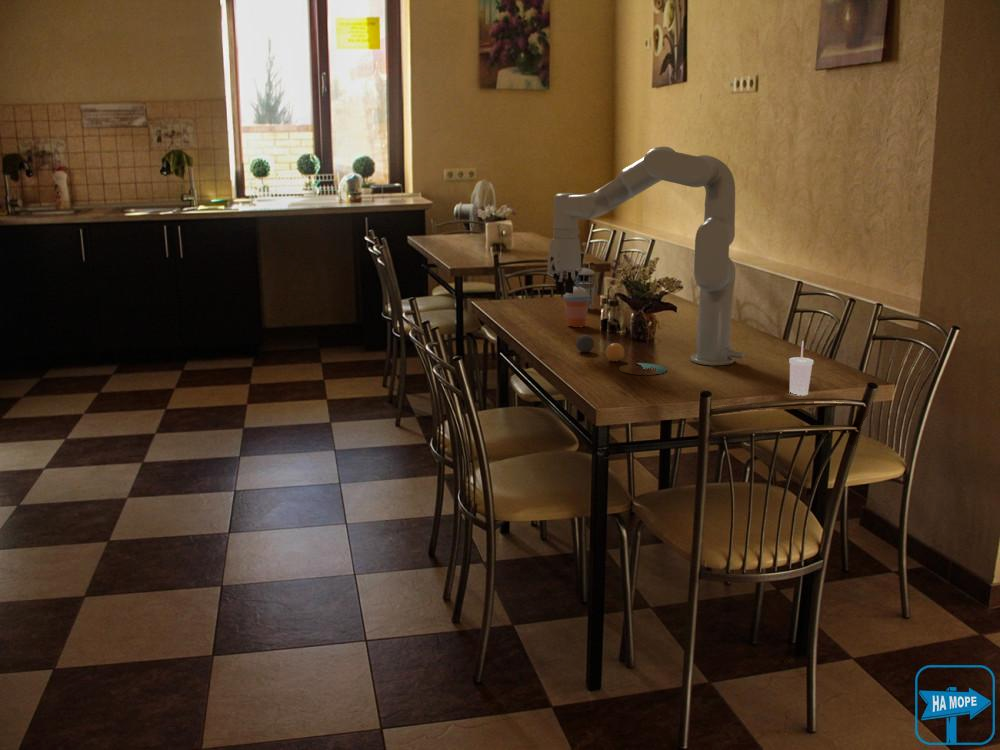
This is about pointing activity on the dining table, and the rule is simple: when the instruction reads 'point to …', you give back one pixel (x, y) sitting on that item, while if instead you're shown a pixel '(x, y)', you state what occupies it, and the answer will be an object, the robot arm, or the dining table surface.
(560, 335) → the dining table surface
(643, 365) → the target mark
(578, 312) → the cup with straw
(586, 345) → the dark grey ball
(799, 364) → the beverage cup
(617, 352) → the object ball
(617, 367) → the dining table surface
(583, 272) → the french press
